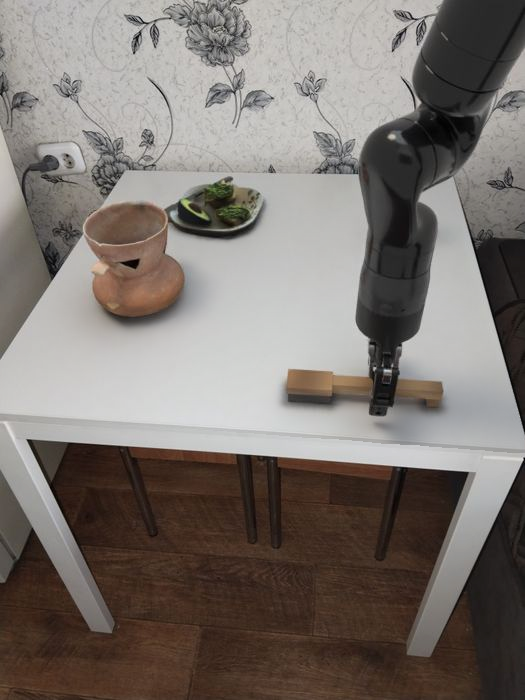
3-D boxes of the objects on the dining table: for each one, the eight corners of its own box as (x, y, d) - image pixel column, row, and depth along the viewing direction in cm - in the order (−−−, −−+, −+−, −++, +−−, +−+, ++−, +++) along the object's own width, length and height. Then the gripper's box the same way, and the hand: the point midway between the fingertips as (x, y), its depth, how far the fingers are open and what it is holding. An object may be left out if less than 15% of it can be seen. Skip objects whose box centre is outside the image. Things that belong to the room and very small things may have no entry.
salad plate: (194, 179, 123) (192, 159, 120) (276, 190, 119) (276, 169, 115) (155, 229, 110) (150, 207, 107) (245, 243, 106) (243, 221, 102)
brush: (437, 393, 79) (441, 376, 77) (439, 412, 77) (444, 396, 74) (288, 383, 81) (288, 367, 79) (286, 402, 79) (286, 386, 76)
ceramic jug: (151, 342, 88) (133, 264, 78) (73, 316, 93) (47, 240, 83) (209, 274, 99) (200, 199, 90) (138, 255, 104) (122, 181, 94)
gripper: (432, 338, 61) (408, 434, 72) (421, 256, 71) (402, 352, 82) (358, 333, 61) (346, 429, 73) (358, 253, 71) (348, 349, 83)
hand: (376, 388), depth 77 cm, fingers open, 8 cm apart
